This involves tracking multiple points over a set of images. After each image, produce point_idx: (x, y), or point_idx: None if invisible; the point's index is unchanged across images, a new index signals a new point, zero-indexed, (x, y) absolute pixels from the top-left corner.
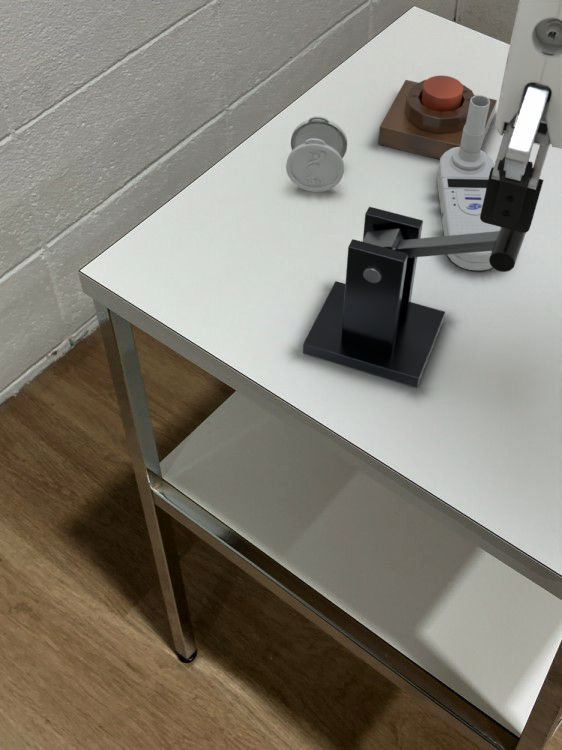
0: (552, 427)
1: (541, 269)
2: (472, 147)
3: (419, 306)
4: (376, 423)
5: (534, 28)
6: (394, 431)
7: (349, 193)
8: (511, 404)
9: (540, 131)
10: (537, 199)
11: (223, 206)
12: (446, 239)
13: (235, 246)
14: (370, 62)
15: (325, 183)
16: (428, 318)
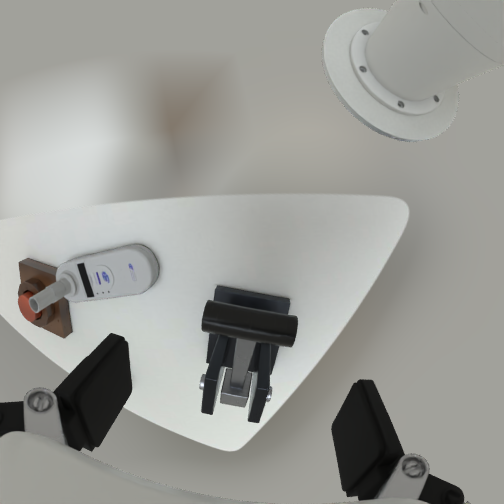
0: (310, 196)
1: (142, 211)
2: (62, 290)
3: None
4: (325, 320)
5: None
6: (330, 308)
7: None
8: (293, 228)
9: (121, 375)
10: (391, 425)
11: (160, 411)
12: (239, 367)
13: (189, 406)
14: (24, 331)
15: None
16: (226, 301)
